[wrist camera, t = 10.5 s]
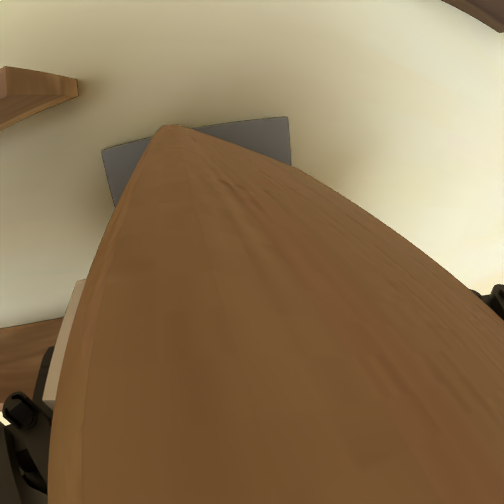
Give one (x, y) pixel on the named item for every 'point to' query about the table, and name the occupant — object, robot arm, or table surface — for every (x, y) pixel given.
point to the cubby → (46, 332)
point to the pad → (240, 133)
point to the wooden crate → (483, 11)
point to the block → (270, 349)
